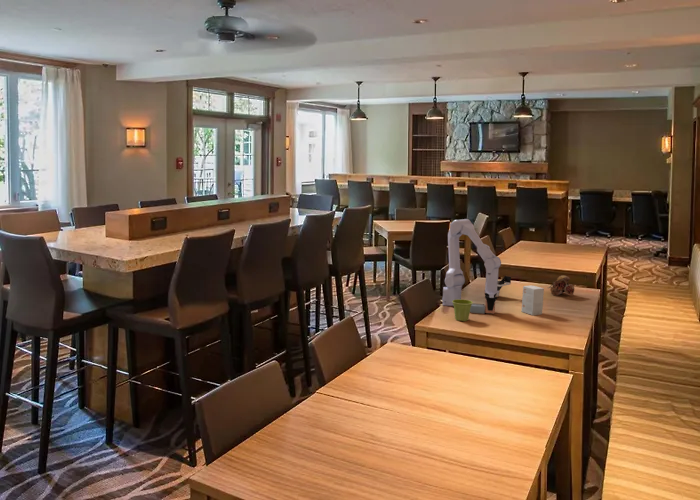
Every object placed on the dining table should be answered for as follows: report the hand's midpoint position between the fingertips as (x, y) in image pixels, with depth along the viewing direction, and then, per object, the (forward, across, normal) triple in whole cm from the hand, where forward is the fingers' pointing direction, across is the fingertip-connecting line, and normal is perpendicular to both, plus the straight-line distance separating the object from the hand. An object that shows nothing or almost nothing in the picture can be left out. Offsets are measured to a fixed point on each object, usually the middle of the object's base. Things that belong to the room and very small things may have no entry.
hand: (489, 309), depth 300 cm
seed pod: (+2, +52, -41) cm, 66 cm away
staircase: (+2, +34, -6) cm, 35 cm away
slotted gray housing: (+2, 0, +7) cm, 7 cm away
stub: (+1, 0, 0) cm, 1 cm away
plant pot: (+2, -17, +14) cm, 22 cm away
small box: (+2, +5, -20) cm, 21 cm away
